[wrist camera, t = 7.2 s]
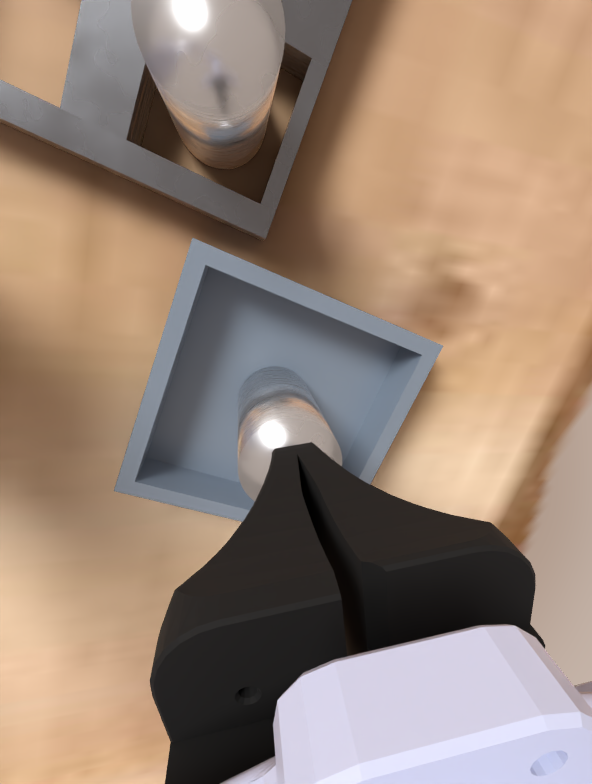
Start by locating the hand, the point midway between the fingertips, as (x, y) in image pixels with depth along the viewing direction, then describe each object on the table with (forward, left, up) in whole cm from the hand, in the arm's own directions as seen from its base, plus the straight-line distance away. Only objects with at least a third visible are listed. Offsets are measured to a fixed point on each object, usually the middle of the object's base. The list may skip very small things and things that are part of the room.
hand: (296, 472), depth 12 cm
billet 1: (+11, +7, -10) cm, 16 cm away
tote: (-1, 0, -10) cm, 10 cm away
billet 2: (-1, 0, -9) cm, 9 cm away
